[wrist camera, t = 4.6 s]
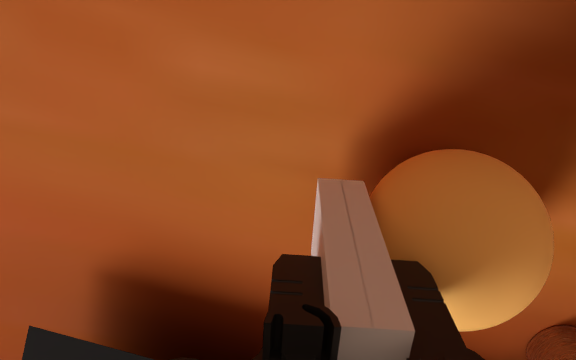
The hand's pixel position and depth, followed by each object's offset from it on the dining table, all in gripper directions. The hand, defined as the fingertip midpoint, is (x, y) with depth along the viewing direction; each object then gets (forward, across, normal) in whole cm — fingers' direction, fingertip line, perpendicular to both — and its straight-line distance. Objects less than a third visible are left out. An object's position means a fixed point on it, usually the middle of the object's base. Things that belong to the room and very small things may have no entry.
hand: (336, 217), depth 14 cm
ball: (-1, -4, 0) cm, 4 cm away
